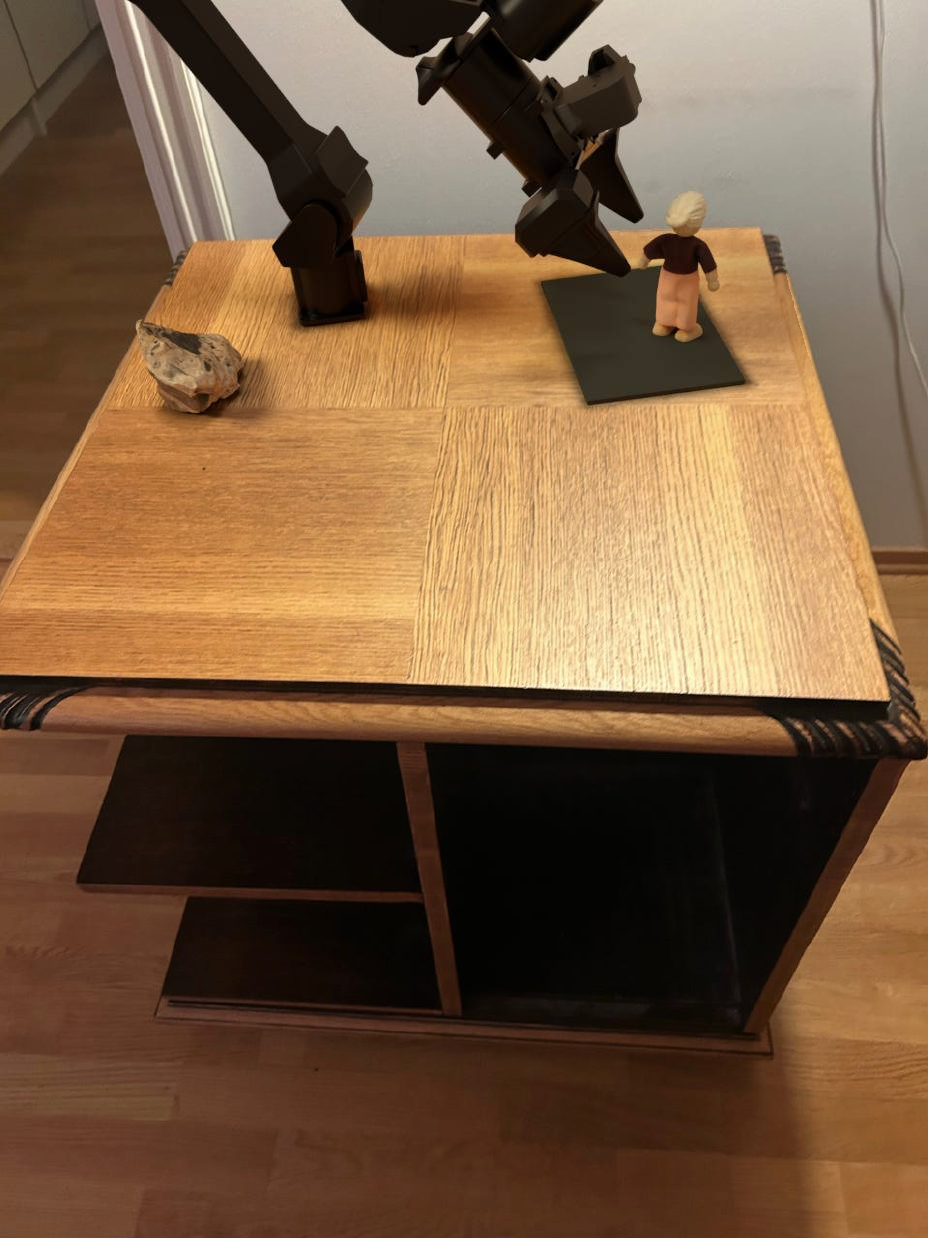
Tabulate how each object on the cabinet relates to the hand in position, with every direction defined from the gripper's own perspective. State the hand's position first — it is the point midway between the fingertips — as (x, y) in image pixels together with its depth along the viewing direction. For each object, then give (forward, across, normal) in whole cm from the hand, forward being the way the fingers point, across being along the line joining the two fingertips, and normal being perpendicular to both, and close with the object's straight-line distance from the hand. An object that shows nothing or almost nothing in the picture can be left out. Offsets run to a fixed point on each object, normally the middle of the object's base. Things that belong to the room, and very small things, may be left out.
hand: (633, 245), depth 79 cm
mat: (+7, 0, +5) cm, 8 cm away
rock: (-19, -16, +32) cm, 40 cm away
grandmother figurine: (+9, 0, +3) cm, 9 cm away
